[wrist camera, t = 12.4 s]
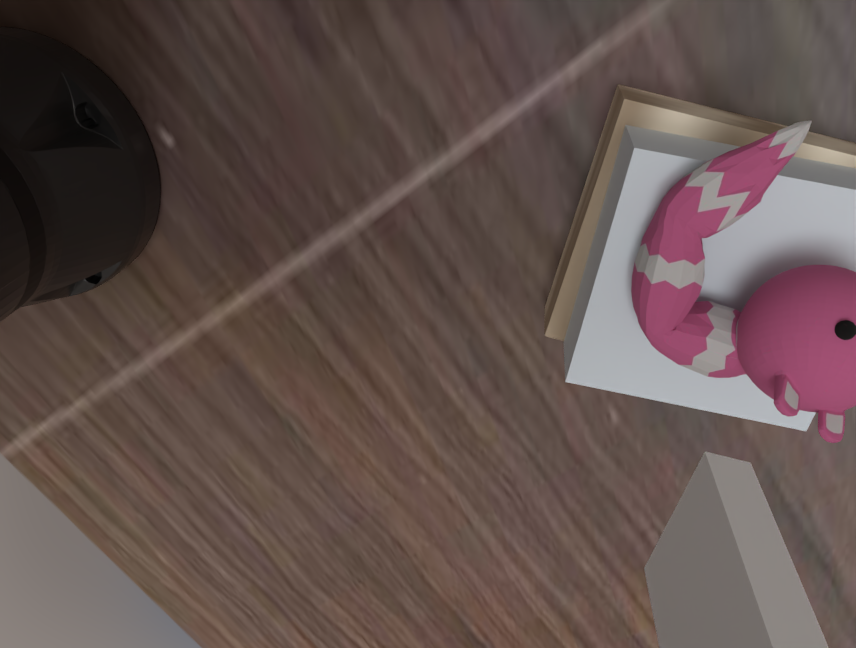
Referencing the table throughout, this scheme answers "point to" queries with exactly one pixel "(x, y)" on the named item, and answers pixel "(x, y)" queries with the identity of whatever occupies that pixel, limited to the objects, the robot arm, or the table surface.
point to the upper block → (724, 269)
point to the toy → (768, 306)
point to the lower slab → (666, 118)
